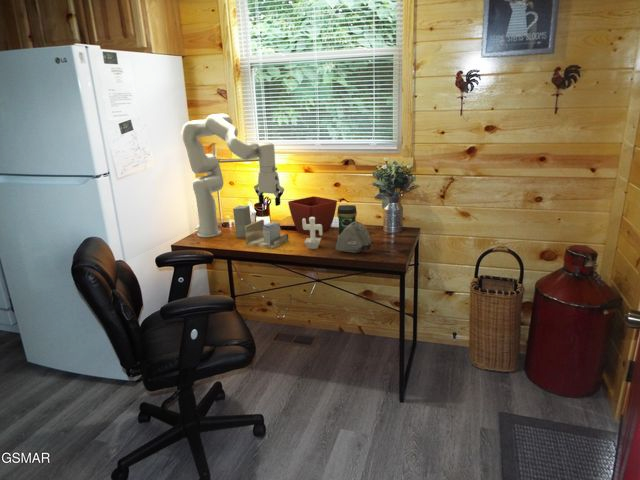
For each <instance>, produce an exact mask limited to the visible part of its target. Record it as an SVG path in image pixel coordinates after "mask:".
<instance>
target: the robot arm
mask: <svg viewBox="0 0 640 480" xmlns="http://www.w3.org/2000/svg"><path fill="white" fill-rule="evenodd" d="M214 135H215V136H217V137H218V138H220V139H221V140H223V141H224V142H225V143H226V145H227V148H228V149H229V151H230V153H232V154H234V155H235V156H237V157H238V158H239V159H242V160H251V159H257V158H258V162H259V163H258V164H259V172H258V177H257V178H258V179H257V181H258V182H257V184H256V185H253V189H254V191H255V194H256V195H257V196H258V203H259V205H263V204H264V203H265V195H264V194H272V195H274V196H275V198H274V200H275V201H274V202H275V203H274V204H275V206H276V207H277V206H280V205H281V197H282V195H283V194H284V192H285V188H284V187H283V186H281V184H280V178H279V175H278V172H277V170H278V167H276V154H275V153H276V152H275V145H274V144H273V143H272V142H261V141H253V142H252V141H251V142H244V141H242V140H240V139H239V138H238V135H239V130H238V128H237V127H236V126H235V125H233V120H232V118H231V116H230V115H228V114H226V113H216V114H215V113H213V114H209V115H208V116H207V117H206V118H205V119H195V120H190V121H187V122H185V123H184V124H183V126H182V129H181V138H182V141H183V144H184V146H185V149H186V153H187V157H188V160H189V161H188V162H189V164H190V168H191V170H192V171H191V172H193V173H194V174H196V175H201V174H206V175H202V176H199V177H196V178H195V179H194V180H193V183H192V189H193V191H194V195H195V200H196V201H195V202H196V208H197V216H198V224H197V225H196V227H195V230H197V231H198V232H197V233H196V234H197V237H199V238H214V237H218V236H220V235H221V234H222V231H221V230H220V229H219V227H218V217H217V207H216V200H215V197H214V196H213V193H215V192H218V191H221V190H222V189H223V187H224V178H223V174H222V169H221V165H220V161H219V159H218V158H217V156H216V155H215V154H213V153H206V152H205V149H204V146H203V144H202V142H201V141H200V139H198V138H204V137H210V136H211V137H212V136H214Z"/></svg>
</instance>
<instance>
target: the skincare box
mask: <svg viewBox="0 0 640 480" xmlns="http://www.w3.org/2000/svg"><path fill="white" fill-rule="evenodd" d="M232 210H233V211H232V213H233V217H234V218H233V220H234V226H235V228H234V229H235V235H236V238H245V239H246V234H245V226H247V225H249V224H252V216H251V211H250V210H251V209H250V205H238V206H235V207H233V209H232Z"/></svg>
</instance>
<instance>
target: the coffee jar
mask: <svg viewBox="0 0 640 480" xmlns="http://www.w3.org/2000/svg"><path fill="white" fill-rule="evenodd" d="M357 214H358V211H357V206H356V205H355V204H344V205H343V204H339V205H338V206H337V210H336V215H337V218H338V232H337V238H338V237H339V235H340V234H341V233H342V232H343V230H344V229H345V228H346V227H347V226H349V225H350V224H351V223H352V222H355V221H357V220H356V217H357Z"/></svg>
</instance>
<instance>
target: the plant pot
mask: <svg viewBox="0 0 640 480" xmlns="http://www.w3.org/2000/svg"><path fill="white" fill-rule="evenodd" d="M287 203H288V209H289V212H290V215H291V219H292V221H293V224H294V226H295V228H296V231H297V232H298V233H302V234H306V235H309V236H310V230H304V229H303V223H302V220H303V218H305V219H306V224H310V221H309V218H310V217H315V224H321V225H322V232H323V233H327V232H330V230H331V227H332V224H333V221H334V217H335V215H336V211H337V205H338V204H337V203H338V200H336V199H331V198H327V197H320V196H315V195H313V196H308V197H307V196H306V197H304V198H299V199H294V200H289V201H287ZM316 235H319V230H315V236H316Z"/></svg>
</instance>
